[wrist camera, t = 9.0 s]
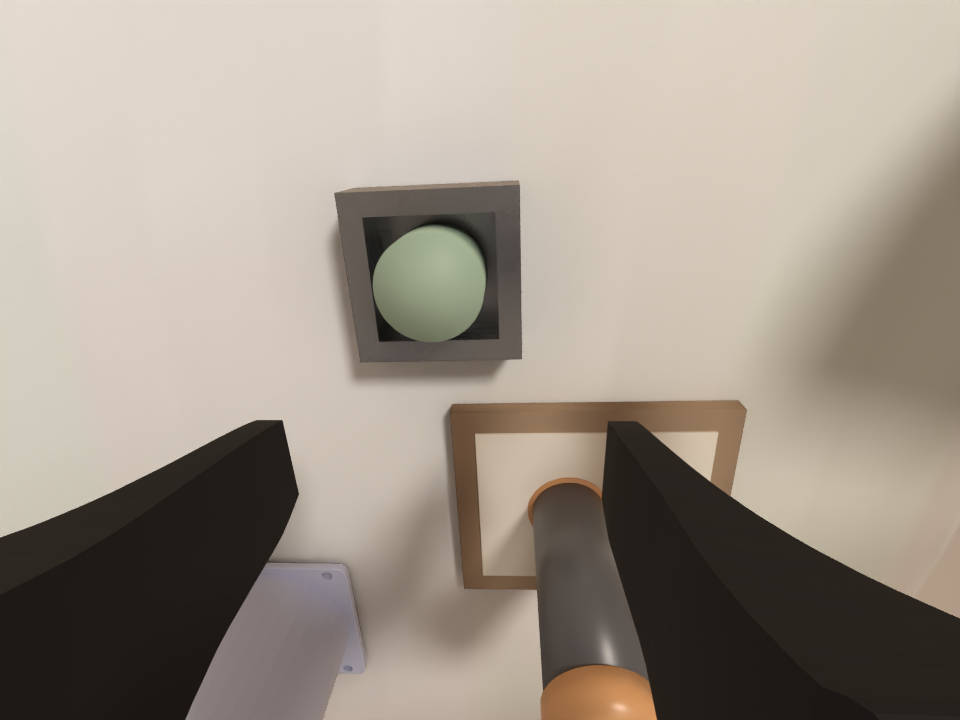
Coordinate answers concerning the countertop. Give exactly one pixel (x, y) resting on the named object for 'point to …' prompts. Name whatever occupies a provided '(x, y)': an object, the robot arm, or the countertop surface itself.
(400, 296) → the button
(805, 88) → the countertop surface
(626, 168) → the countertop surface
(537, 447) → the board
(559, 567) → the marker
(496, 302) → the button housing
